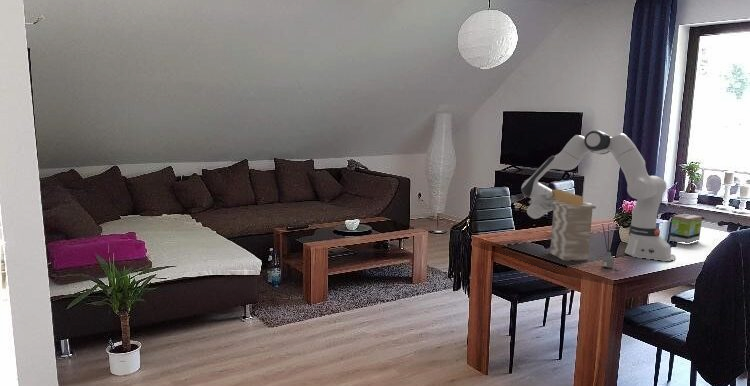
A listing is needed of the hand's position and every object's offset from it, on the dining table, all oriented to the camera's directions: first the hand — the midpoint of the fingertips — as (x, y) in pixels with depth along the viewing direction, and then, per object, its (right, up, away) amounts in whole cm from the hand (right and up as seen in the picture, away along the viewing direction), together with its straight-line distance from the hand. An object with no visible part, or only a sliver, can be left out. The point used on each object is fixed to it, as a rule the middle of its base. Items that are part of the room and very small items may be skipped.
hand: (558, 193), depth 279 cm
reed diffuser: (+15, -34, -27) cm, 45 cm away
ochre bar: (+1, -4, -8) cm, 9 cm away
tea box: (+78, -27, +28) cm, 87 cm away
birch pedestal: (+2, -30, -9) cm, 32 cm away
